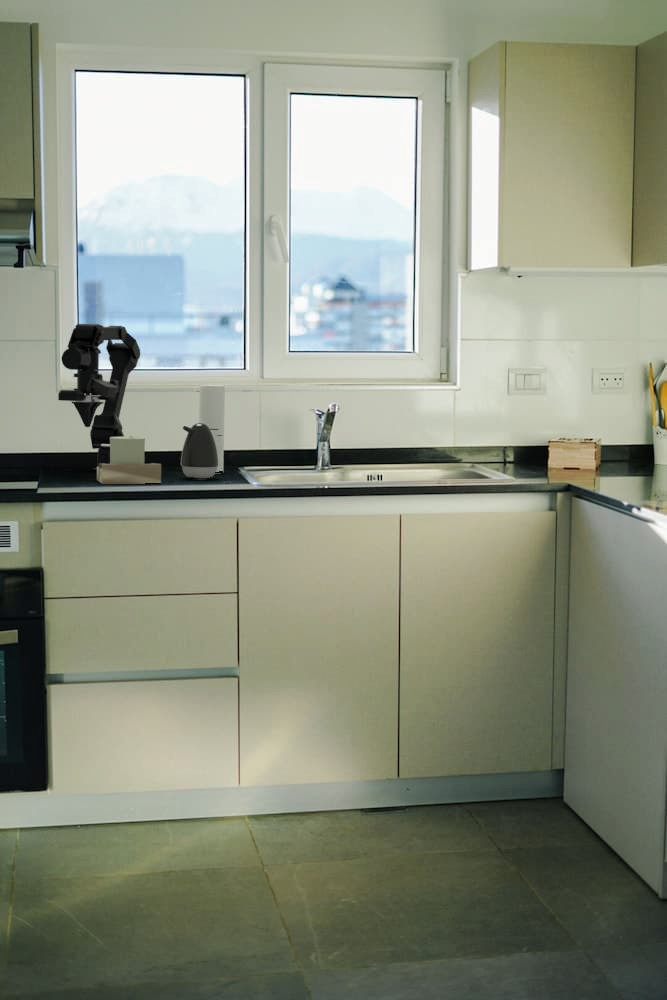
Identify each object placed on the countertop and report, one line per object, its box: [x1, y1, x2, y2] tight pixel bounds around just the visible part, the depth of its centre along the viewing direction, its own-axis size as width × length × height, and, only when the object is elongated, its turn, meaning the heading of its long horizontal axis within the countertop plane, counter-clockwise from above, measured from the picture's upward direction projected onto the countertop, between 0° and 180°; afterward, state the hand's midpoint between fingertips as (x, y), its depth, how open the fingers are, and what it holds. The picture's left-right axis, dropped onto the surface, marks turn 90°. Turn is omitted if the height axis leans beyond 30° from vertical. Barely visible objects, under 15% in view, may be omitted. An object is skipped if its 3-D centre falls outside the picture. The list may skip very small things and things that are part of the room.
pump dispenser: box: [180, 422, 218, 479], centre depth 333 cm, size 10×10×15 cm
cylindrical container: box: [198, 384, 226, 472], centre depth 353 cm, size 7×7×25 cm
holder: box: [96, 462, 162, 485], centre depth 319 cm, size 10×15×5 cm
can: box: [109, 435, 146, 464], centre depth 319 cm, size 9×9×12 cm
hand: (87, 427), depth 336 cm, fingers closed
